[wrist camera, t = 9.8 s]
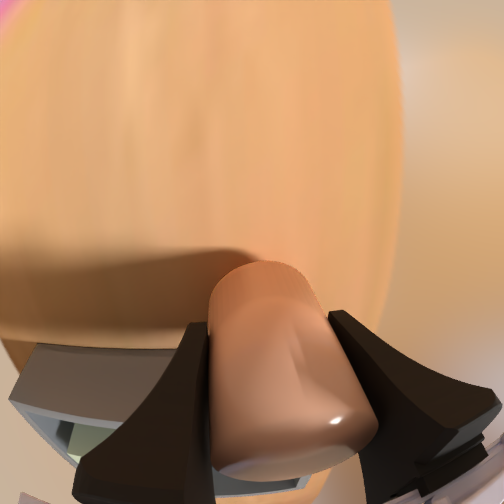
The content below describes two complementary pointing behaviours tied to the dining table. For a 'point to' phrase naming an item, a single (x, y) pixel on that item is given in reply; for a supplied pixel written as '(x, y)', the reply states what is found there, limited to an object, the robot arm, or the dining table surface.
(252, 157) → the dining table surface
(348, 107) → the dining table surface
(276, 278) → the terracotta cylinder
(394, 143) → the dining table surface
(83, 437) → the green block
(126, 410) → the tote
